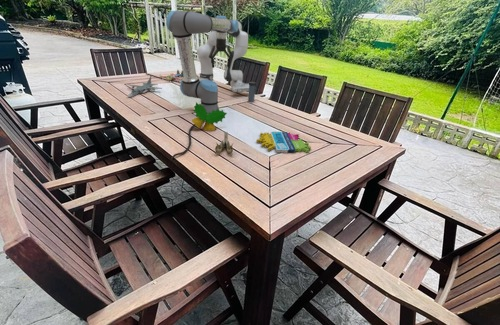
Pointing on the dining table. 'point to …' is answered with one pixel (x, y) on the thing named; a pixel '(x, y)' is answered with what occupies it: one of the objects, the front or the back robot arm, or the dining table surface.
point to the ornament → (207, 117)
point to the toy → (173, 76)
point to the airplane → (142, 88)
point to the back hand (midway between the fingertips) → (246, 91)
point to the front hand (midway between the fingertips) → (220, 67)
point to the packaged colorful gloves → (283, 142)
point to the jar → (251, 93)
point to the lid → (252, 83)
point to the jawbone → (224, 145)
